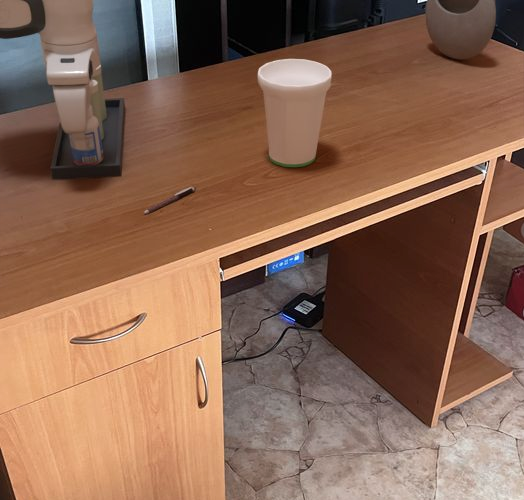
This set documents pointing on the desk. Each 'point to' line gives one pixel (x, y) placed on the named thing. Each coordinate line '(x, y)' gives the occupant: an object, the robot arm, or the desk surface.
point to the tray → (110, 144)
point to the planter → (460, 26)
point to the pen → (170, 199)
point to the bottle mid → (96, 106)
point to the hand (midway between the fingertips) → (83, 135)
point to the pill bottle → (89, 144)
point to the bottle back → (100, 91)
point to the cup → (293, 108)
